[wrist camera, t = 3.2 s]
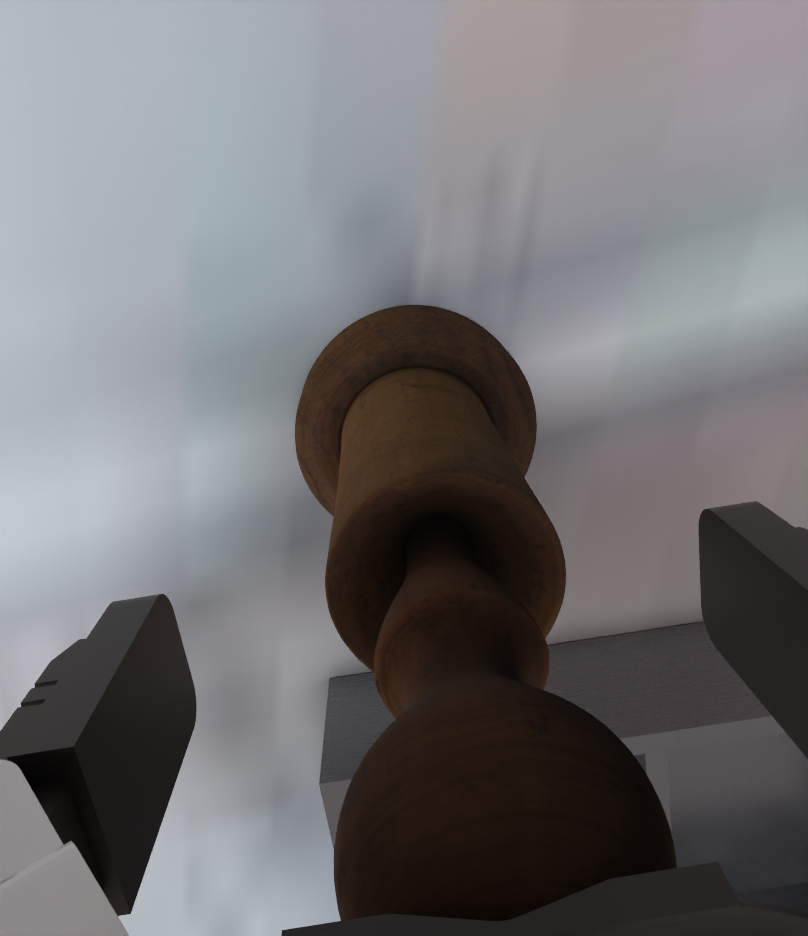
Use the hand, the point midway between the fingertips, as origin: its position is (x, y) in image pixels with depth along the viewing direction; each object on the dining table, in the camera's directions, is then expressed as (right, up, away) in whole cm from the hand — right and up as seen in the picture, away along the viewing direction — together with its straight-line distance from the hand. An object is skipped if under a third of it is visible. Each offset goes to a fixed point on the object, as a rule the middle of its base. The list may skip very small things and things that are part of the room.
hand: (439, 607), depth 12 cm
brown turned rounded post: (0, +4, +11) cm, 12 cm away
